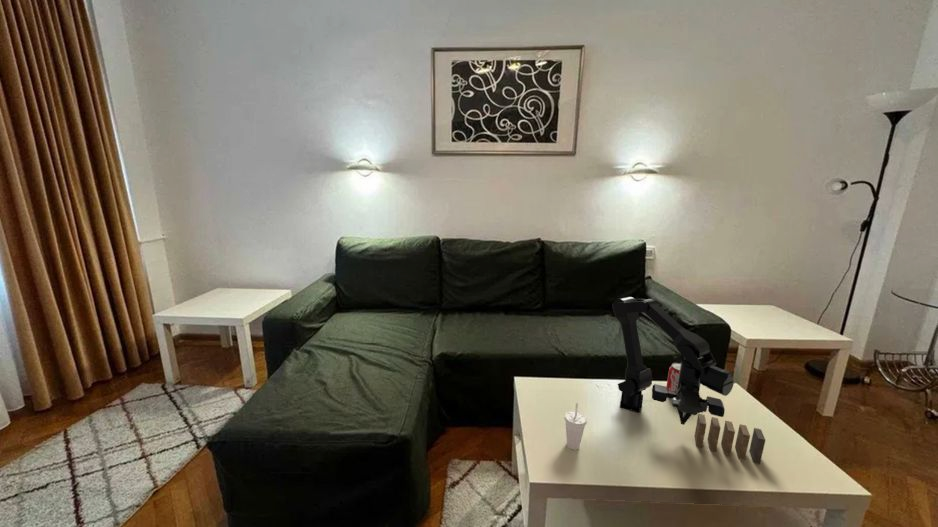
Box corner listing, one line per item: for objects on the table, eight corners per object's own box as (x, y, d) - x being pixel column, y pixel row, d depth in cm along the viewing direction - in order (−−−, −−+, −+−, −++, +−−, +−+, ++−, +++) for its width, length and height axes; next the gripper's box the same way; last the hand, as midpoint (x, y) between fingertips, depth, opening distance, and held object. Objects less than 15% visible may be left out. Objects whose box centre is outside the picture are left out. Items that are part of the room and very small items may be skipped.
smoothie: (584, 440, 111) (588, 400, 107) (583, 455, 105) (588, 413, 102) (563, 435, 113) (566, 396, 109) (561, 449, 107) (564, 408, 104)
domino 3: (723, 453, 106) (728, 430, 104) (721, 443, 110) (725, 420, 109) (730, 455, 105) (735, 432, 104) (727, 444, 110) (731, 422, 108)
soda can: (689, 402, 131) (695, 372, 128) (668, 399, 132) (673, 370, 130) (682, 391, 138) (687, 363, 135) (662, 389, 139) (667, 361, 136)
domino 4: (738, 457, 105) (743, 434, 103) (734, 447, 109) (739, 424, 107) (744, 459, 104) (750, 435, 102) (741, 448, 108) (746, 425, 106)
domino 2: (709, 449, 108) (714, 426, 106) (707, 439, 112) (711, 416, 110) (715, 451, 107) (720, 428, 105) (713, 441, 111) (718, 418, 110)
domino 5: (753, 462, 103) (758, 438, 101) (749, 451, 107) (754, 427, 106) (759, 464, 102) (765, 440, 101) (755, 452, 107) (761, 429, 105)
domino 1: (695, 445, 109) (700, 422, 107) (694, 435, 114) (698, 413, 112) (702, 447, 108) (706, 424, 107) (700, 437, 113) (704, 415, 111)
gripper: (655, 383, 106) (648, 429, 109) (731, 401, 97) (722, 450, 101) (655, 366, 115) (649, 409, 119) (725, 381, 107) (716, 427, 111)
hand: (682, 423), depth 112 cm, fingers closed
